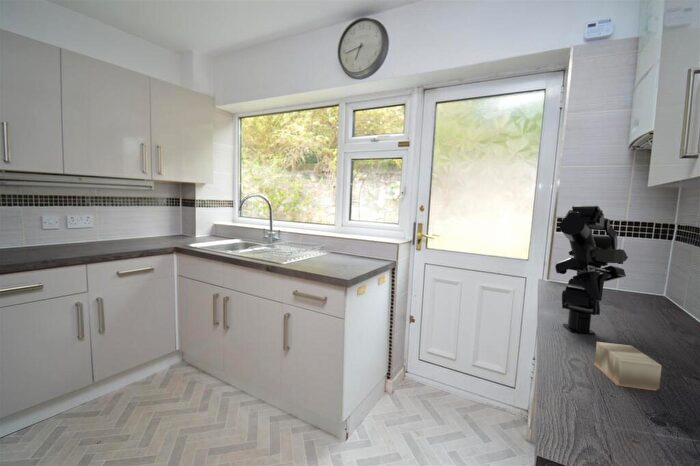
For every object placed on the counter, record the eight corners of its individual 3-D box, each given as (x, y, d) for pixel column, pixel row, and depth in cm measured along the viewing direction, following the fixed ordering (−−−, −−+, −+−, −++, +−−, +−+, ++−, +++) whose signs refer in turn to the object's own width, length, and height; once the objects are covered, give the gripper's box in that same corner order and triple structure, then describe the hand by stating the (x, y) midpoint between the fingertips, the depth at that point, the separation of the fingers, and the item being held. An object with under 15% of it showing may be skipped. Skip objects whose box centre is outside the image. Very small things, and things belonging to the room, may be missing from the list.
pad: (593, 364, 76) (593, 362, 76) (628, 368, 75) (628, 367, 75) (616, 385, 67) (616, 384, 67) (656, 390, 65) (656, 389, 65)
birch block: (596, 341, 76) (621, 360, 67) (631, 345, 75) (661, 365, 65) (594, 362, 77) (619, 384, 67) (629, 366, 75) (659, 389, 65)
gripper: (585, 229, 82) (603, 289, 75) (637, 241, 87) (657, 299, 80) (548, 244, 91) (561, 299, 85) (596, 255, 96) (612, 307, 90)
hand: (598, 301), depth 85 cm, fingers closed
